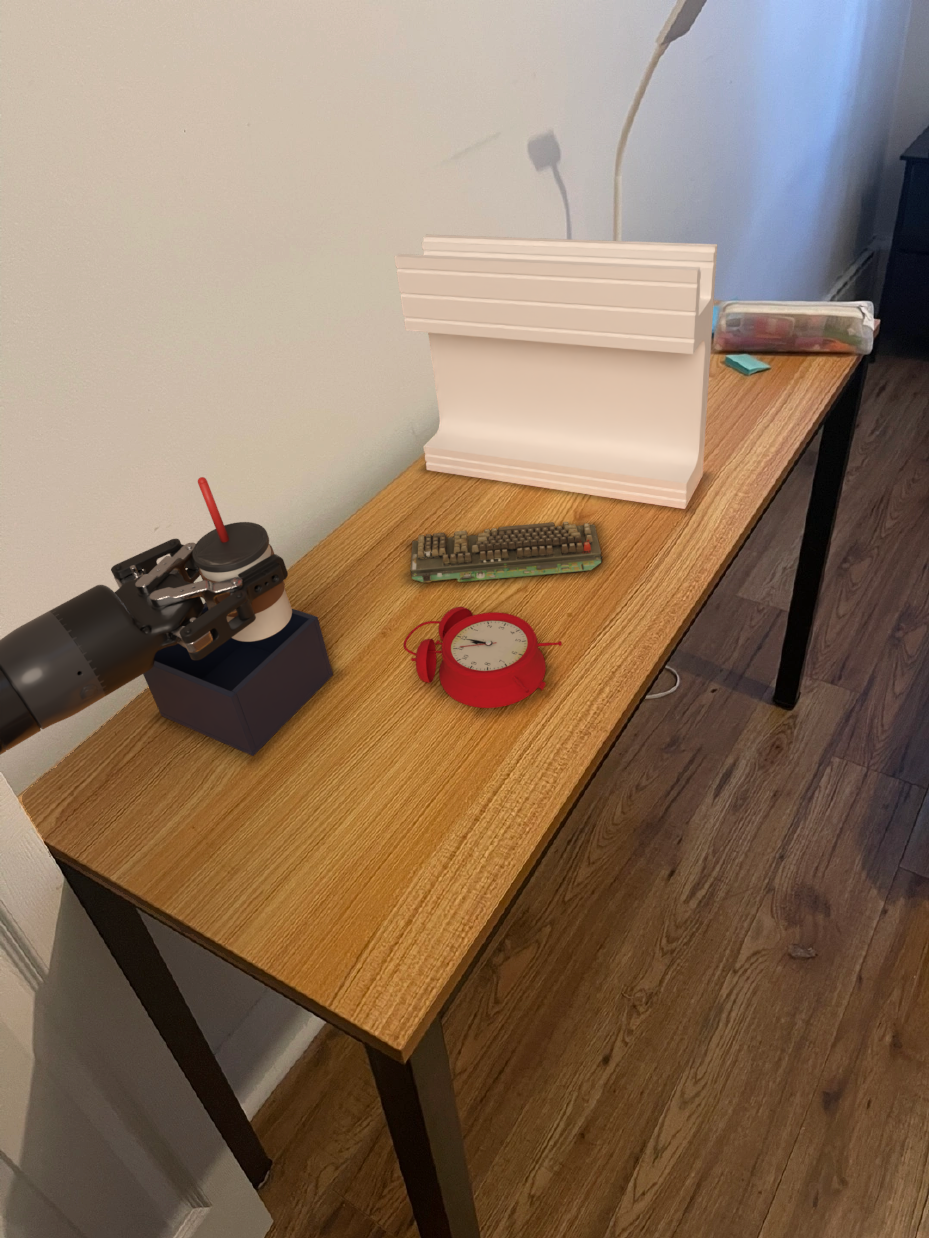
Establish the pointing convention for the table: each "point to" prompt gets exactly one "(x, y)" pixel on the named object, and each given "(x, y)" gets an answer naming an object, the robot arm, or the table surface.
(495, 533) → the keyboard
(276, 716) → the bin
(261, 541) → the paper cup
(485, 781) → the table surface
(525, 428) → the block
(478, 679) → the alarm clock
